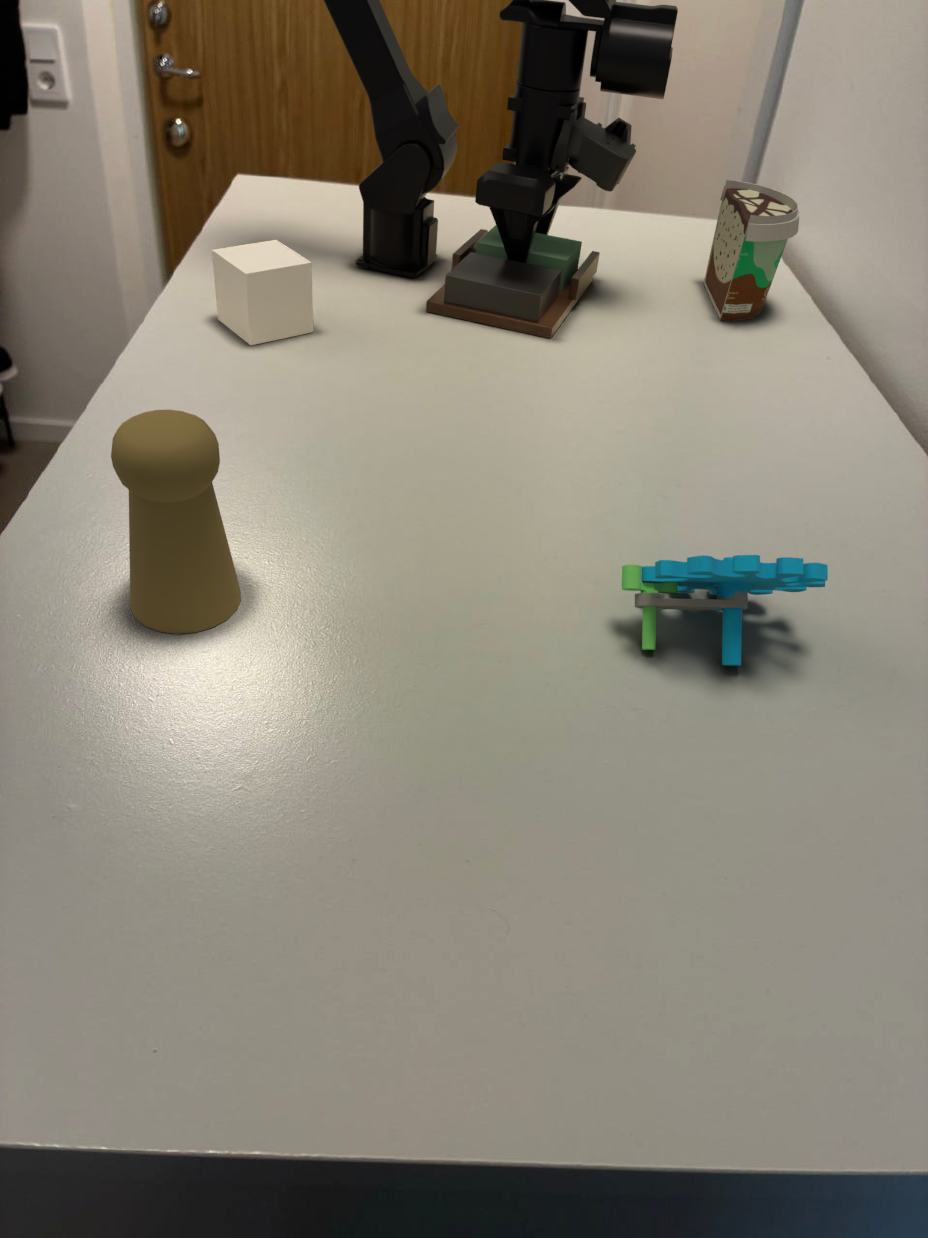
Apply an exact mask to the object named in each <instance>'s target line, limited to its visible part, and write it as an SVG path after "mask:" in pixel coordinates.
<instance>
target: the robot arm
mask: <svg viewBox="0 0 928 1238" xmlns="http://www.w3.org/2000/svg"><path fill="white" fill-rule="evenodd" d="M323 2H324V4H325V6H326V8H327V11H328V13H329V15H330V17H331V19H332V22H333V24H334V26H335V28H336V31H337V32H338V34H339V37H340V39H341V41H342V43H343V45H344V47H345V49H346V51H347V54H348V56H349V58H350V61H351V63H352V65H353V66H354V69H355V71H356V73H357V75H358V77H359V79H360V82H361V84H362V86H363V88H364V90H365V93H366V94H367V97H368V101H369V105H370V106H369V107H370V113H371V119H372V120H371V121H372V125H373V133H374V138H375V142H376V145H377V149H378V152H379V155H380V159H381V162H380V163H379V164H378V165H377V166H376V167H375V168H374V169H373V170H372V171H371V172H370V173H369V174H368V175H366V177H365V178H364V179H363V180H362V181H361V182H360V183H359V185H358V189H359V193H360V196H361V200H362V255H361V256H359V257H358V258H356V259H355V266H357V267H360V268H365V269H369V270H373V271H374V270H375V271H379V272H384V273H389V274H393V275H399V276H402V277H408V278H417V277H418V276H419V275H421V274H422V273H423V272H424V271H425V270H426V269H427V268H429V267H430V266H431V265H433V263H435V262H436V261H437V259H438V254H437V245H438V232H439V231H438V228H439V219H438V217H435V216H434V213H435V200H434V199H430V198H427V197H426V196H427V194H428V193H429V192H431V191H432V190H434V189H435V188H436V187H437V186H438V184H440V182H441V181H442V179H444V177H445V176H446V174H447V173H448V172H449V171H450V169H451V168H452V166H453V164H454V163H455V161H456V157H457V154H458V153H457V152H458V150H459V149H458V140H457V136H456V132H457V130H458V129H459V128H460V124H459V123H458V122H457V121H456V120H455V119H454V118H453V116H452V114H451V112H450V111H449V108H448V105H447V101H446V98H445V93H444V91H443V89H442V86H441V84H439V83H438V84H436V85H435V86H434V87H432V88H431V89H429V91H427V90H426V88H425V87H424V86H423V84H421V83H420V81H419V80H418V78H416V77H415V75H414V74H413V73H412V70H411V69H410V67H409V64H408V62H407V60H406V57H405V55H404V53H403V50H402V49H401V46H400V44H399V41H398V40H397V37H396V34H395V33H394V30H393V28H392V25H391V23H390V22H389V19H388V17H387V14H386V12H385V9H384V7H383V5H382V2H381V0H323ZM568 2H569V3H570V4H571V5H572V6H573V7H574V8H575V9H576V10H577V11H578V12H579V13H580V14H581V15H582V16H576V15H572V14H571V15H570V14H567V4H566V3H567V2H566V1H557V0H511V1H510V3H509V4H506V6H504V7H503V8H502V9H501V10H500V12H499V14H498V16H499V19H500V20H501V21H505V22H514V23H521V31H520V39H519V51H518V61H517V71H516V80H515V90H514V93H513V94H511V95H509V96H508V97H507V107H506V110H507V111H512V118H511V129H510V139H509V142H508V144H506V145H505V146H504V147H503V148H502V157H501V159H502V160H501V161H499V162H497V163H496V164H495V165H493V166H492V167H491V168H489V169H488V170H487V171H485V172H484V174H482V175H481V176H480V177H479V178H477V180H476V188H475V198H474V199H475V200H474V203H475V204H477V205H479V206H483V207H487V208H489V210H490V213H491V215H492V218H493V221H494V224H495V225H496V226H497V228H498V231H499V234H500V237H501V240H502V243H503V246H504V249H505V252H506V255H507V258H508V260H512V261H517V262H522V263H526V262H527V259H528V256H529V252H530V249H531V245H532V241H533V238H534V234H535V233H540V234H545V235H549V233H550V229H551V227H552V224H553V221H554V219H555V217H556V213H557V210H558V208H559V205H560V203H561V200H562V198H563V197H564V196H565V195H566V194H567V193H569V192H570V191H571V190H573V189H574V188H575V187H576V186H577V185H578V184H579V183H580V182H581V181H582V176H579V175H575V174H569V170H570V167H571V168H572V169H574V170H575V171H576V172H577V174H581V175H583V176H585V177H586V178H588V179H589V180H591V181H593V182H595V184H596V187H598V188H600V189H601V190H603V191H605V192H609V193H610V192H613V191H614V190H615V188H616V187H617V186H618V185H619V184H620V182H621V180H622V179H623V177H624V176H625V174H626V172H627V170H628V168H629V166H630V164H631V162H632V161H633V159H634V157H635V155H636V153H637V149H636V146H637V145H636V144H634V143H633V142H632V143H631V141H632V140H631V139H632V125H631V124H630V122H627V121H626V120H624V119H622V118H621V117H617V118H616V119H614V120H613V121H612V122H610V123H609V124H608V125H607V126H606V127H603V124H602V123H601V122H598V123H595V122H593V121H591V120H589V119H587V118H586V111H587V102H585V101H584V100H585V97H582V96H580V94H581V87H582V80H583V73H584V65H585V59H586V51H587V44H588V38H589V32H594V39H593V40H594V41H593V46H592V53H591V60H590V68H589V77H591V78H595V79H594V82H596V83H600V87H599V92H603V93H610V94H611V93H612V94H619V95H626V96H634V97H642V98H648V99H650V98H651V99H657V100H664V99H665V96H666V89H667V85H668V78H669V74H670V69H671V65H672V58H673V50H674V49H673V48H674V47H672V45H673V40H674V34H675V29H676V23H677V18H678V12H679V8H678V7H677V5H671V4H656V5H647V4H639V3H631V2H630V3H629V2H621V1H617V0H568ZM583 16H584V17H583ZM504 161H506V162H504ZM509 162H513V163H509ZM514 163H515V164H514ZM569 166H570V167H569Z"/></svg>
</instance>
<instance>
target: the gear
mask: <svg viewBox="0 0 928 1238" xmlns="http://www.w3.org/2000/svg"><path fill="white" fill-rule="evenodd" d="M775 560H776V562H761V555H759V554H737V555H733V556H726V557H723V559H720V558H719V559H718V558H715V557H713V556H711V555H695V556H689V557H686V561H679V560H673V559H659V560H657V561H655V562H654V565H644V566H642V565H639V564H623V565H622V566H621V590H622V591H628V592H629V591H630V592H636V591H638V593H635V594H634V608H636V609H642V620H641V621H642V622H641V623H642V626H641V650H642V651H643V650H644V651H656V643H657V642H656V641H657V640H656V639H657V610H684V611H685V610H687V611H688V610H689V611H690V610H691V611H692V610H693V611H722V624H721V626H722V627H721V628H722V629H721V630H722V632H721V633H722V634H721V635H722V636H721V638H722V639H721V666H729V667H730V666H731V667H740V666H741V667H742V635H743V634H742V631H743V630H742V628H743V627H742V625H743V624H742V623H743V619H742V618H743V613H742V612H743V611H746V610H748V609H749V608H748V607H749V604H748V603H749V602H748V601H749V595H752V596H753V595H754V596H761V595H772V594H774V593H773V592H774V591H779V592H785V593H801V592H806V591H807V588H825V587H826V582H827V581H828V580H829V578H828V577H829V576H828V575H829V574H828V573H829V572H828V571H829V569H828V568H829V565H828V564H826V563H823V562H822V563H821V562H806V563H804V558H803V557H802V558H801V557H788V556H787V557H784V556H783V557H778V558H776V559H775ZM696 590H706V591H709V593H708V594H709V595H710V596H716V599H713V598H712V599H711V598H704V599H703V598H666V597H665V595H674V594H679V593H680V594H694V593H695V592H696Z"/></svg>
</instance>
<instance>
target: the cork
mask: <svg viewBox="0 0 928 1238" xmlns="http://www.w3.org/2000/svg"><path fill="white" fill-rule="evenodd" d="M220 456H221V455H220V445H219V441H218V438H217V435H216V433H215V432H214V431H213V429H212V428H211V427H210V426H209V424H208V423H207V422H206V421H205V420H204V419H203V418H201V417H200V416H197V415H196V414H193V413H189V412H185V411H183V410H176V409H155V410H154V409H153V410H148V411H145V412H141V413H139V414H135V415H133V416H132V417H129V418H128V419H126V420H125V421H123V422H122V423H121V424H120V425H119V427H118V428H117V430H116V431H115V432H114V435H113V437H112V441H111V452H110V459H111V463H112V467H113V469H114V472H115V474H116V475H117V478H118V479H119V481H120V483H121V485H123V487H125V488H126V489H127V490H128V537H129V538H128V539H129V545H128V546H129V608H130V610H131V612H132V614H133V616H134V617H133V618H134V619H135V620H137V621H138V622H139V623H141V624H142V625H143V626H145V627H146V628H149V629H151V630H154V631H156V632H160V633H167V634H175V635H176V634H177V635H182V634H191V633H192V634H193V633H199V632H202V631H206V630H208V629H212V628H215V627H216V626H218V625H220V624H223V622H226V621H227V620H229V618H230V617H231V616H232V615H233V614H234V613H236V612H237V610H238V608H239V606H240V604H241V601H242V595H241V594H242V592H241V586H240V583H239V580H238V575H237V572H236V568H235V564H234V561H233V557H232V553H231V548H230V545H229V544H230V543H229V542H228V537H227V532H226V530H225V526H224V523H223V518H222V514H221V511H220V507H219V506H220V505H219V503H218V499H217V495H216V492H215V488H214V484H213V481H214V480H215V478H216V477H217V474H218V473H219V470H220V463H221V458H220Z"/></svg>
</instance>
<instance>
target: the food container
mask: <svg viewBox="0 0 928 1238" xmlns="http://www.w3.org/2000/svg"><path fill="white" fill-rule="evenodd" d="M719 200H720V206H719V211H718V215H717V221H716V225H715V229H714V234H713V239H712V244H711V248H710V253H709V258H708V261H707V267H706V271H705V275H704V279H703V280H704V281H703V287H704V289H705V291H706V293H707V295H708V297H709V299H710V301H711V304H712V306H713V308H714V310H715V313H716V315H717V316H718V319H719V320H720V321H727V322H735V321H745V320H749V319H752V318H756V317H757V316H758V315H760V314H761V313H762V310H763V308H764V305H765V302H766V299H767V297H768V294H769V292H770V289H771V287H772V283H773V281H774V277H775V275H776V272H777V269H778V266H779V264H780V261H781V259H782V256H783V254H784V252H785V251H784V250H785V248H786V245H787V243H788V240H789V239H791V238H793V237H795V236H796V235H798V233H799V227H800V226H799V225H800V211H799V203H798V202H797V201H796V200H795V199H794V198H793V197H792V196H791V195H788V194H786V193H784V192H782V191H779V190H778V189H777V190H776V189H774V188H772V187H768V186H765V185H761V184H756V183H752V182H746V181H742V180H734V179H726V180H725V183H724V186H723V189H722V193H721V195H720V199H719Z"/></svg>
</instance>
